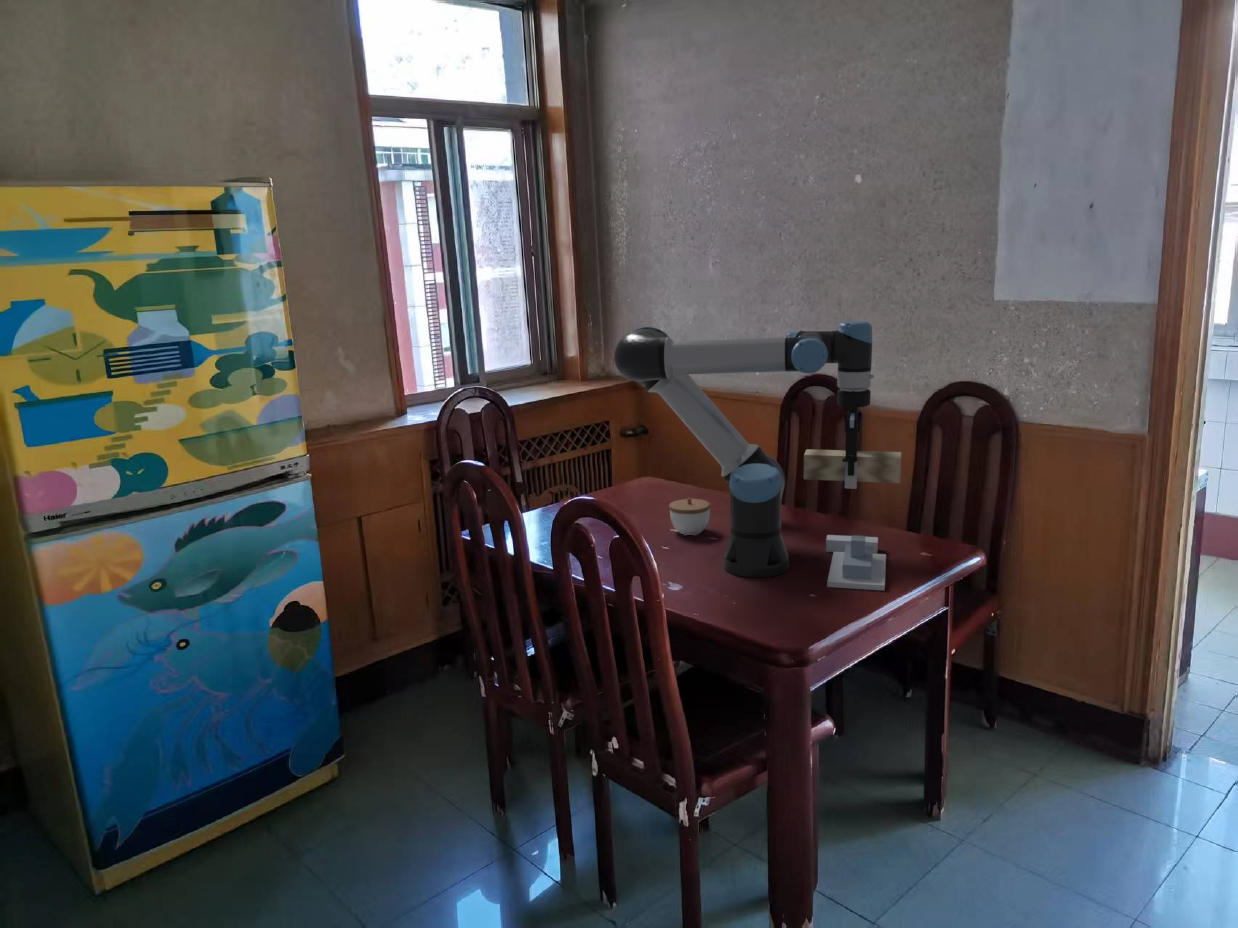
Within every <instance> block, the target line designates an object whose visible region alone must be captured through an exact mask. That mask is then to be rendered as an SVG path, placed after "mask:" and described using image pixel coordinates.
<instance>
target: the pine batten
mask: <svg viewBox="0 0 1238 928" xmlns="http://www.w3.org/2000/svg"><path fill="white" fill-rule="evenodd" d="M845 457H846V449H845V450H843V449H842V450H841V449H840V450H839V449H813V448H812V449H811V448H809V449H808V448H807V449H806V450H805V452H804V454H803V480H811V481H812V480H813V481H814V480H815V481H838V482H845V462H843V461H842V460H843V459H845ZM901 465H902V451H878V450H877V451H876V450H875V451H873V450H871V451H870V450H862V451H857V481H858V482H862V483H865V482H866V483H885V484H886V483H889V484H900V483H901V475H902V474H901V473H902V471H901V470H902V466H901Z"/></svg>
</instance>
